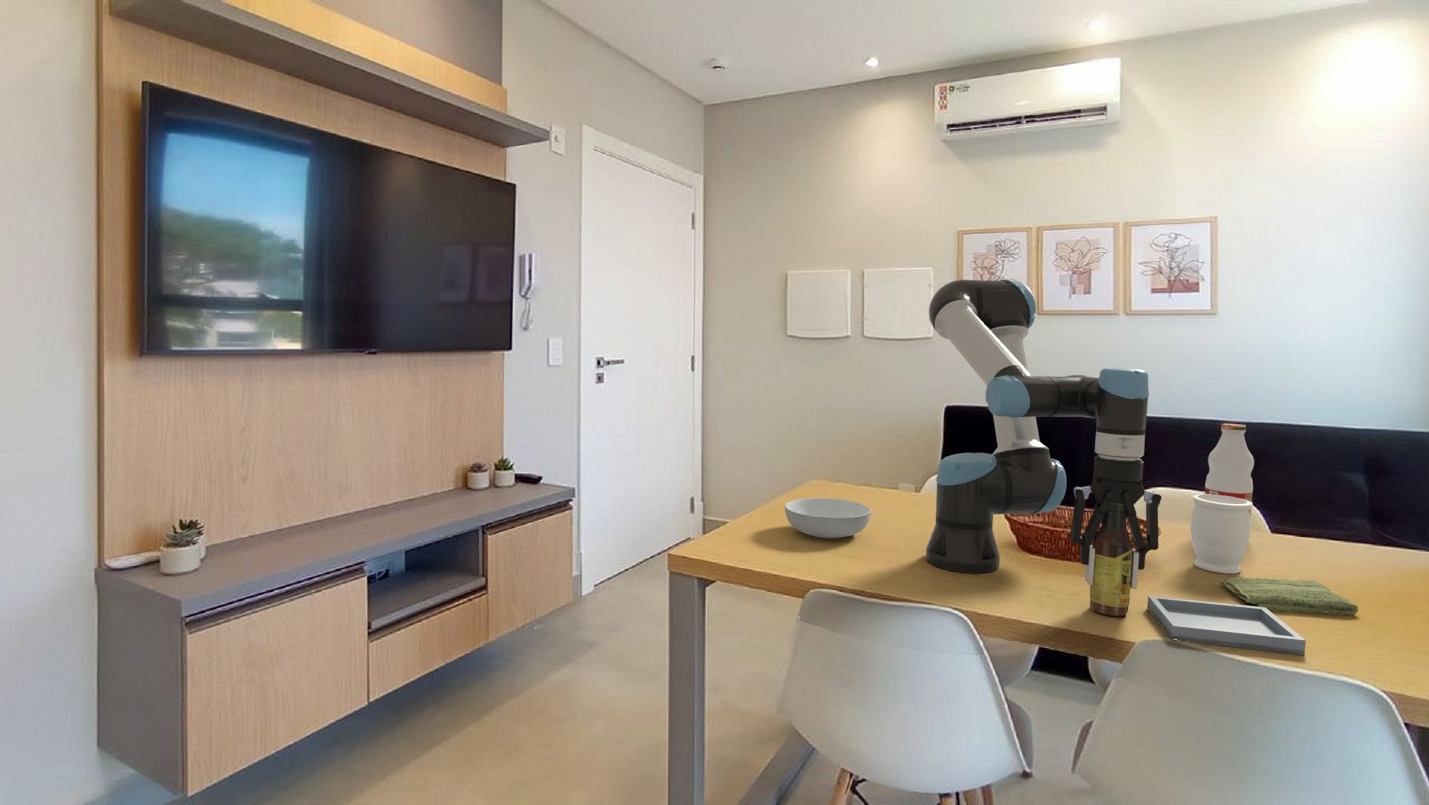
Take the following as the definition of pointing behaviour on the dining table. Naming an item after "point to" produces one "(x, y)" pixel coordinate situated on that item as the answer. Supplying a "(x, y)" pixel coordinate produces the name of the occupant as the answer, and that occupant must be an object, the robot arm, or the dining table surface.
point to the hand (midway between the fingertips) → (1110, 584)
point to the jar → (1220, 532)
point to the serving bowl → (827, 517)
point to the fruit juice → (1231, 465)
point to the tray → (1225, 625)
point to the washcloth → (1290, 595)
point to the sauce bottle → (1112, 564)
